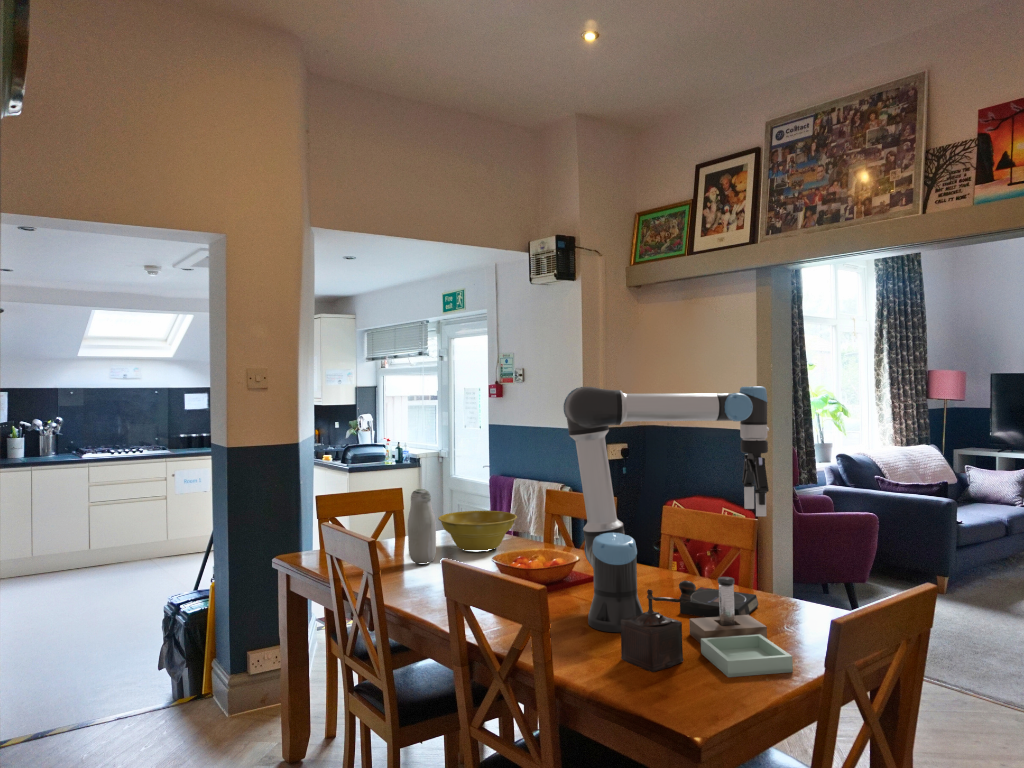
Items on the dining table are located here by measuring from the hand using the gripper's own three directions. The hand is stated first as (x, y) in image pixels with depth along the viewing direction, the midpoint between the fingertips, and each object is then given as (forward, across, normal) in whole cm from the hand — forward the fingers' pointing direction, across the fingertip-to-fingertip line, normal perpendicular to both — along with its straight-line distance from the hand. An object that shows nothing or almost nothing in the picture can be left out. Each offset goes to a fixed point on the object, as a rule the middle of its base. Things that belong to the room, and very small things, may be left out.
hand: (755, 512), depth 211 cm
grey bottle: (+28, +54, +109) cm, 125 cm away
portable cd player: (+28, -5, +11) cm, 30 cm away
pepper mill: (+28, -44, +33) cm, 61 cm away
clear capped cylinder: (+27, -29, +14) cm, 42 cm away
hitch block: (+27, -29, +14) cm, 42 cm away
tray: (+27, -46, +14) cm, 55 cm away
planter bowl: (+28, +79, +91) cm, 124 cm away
